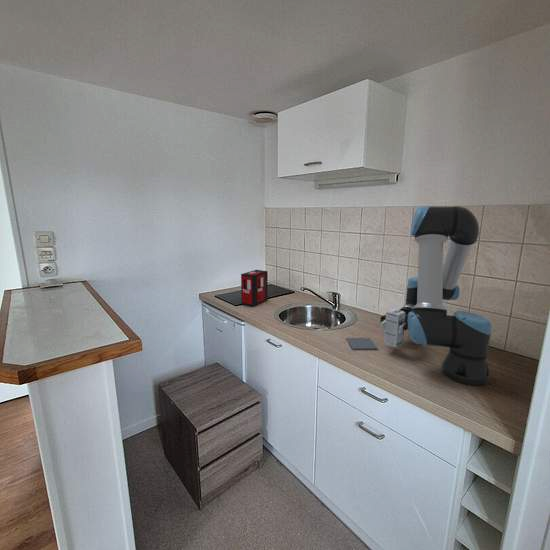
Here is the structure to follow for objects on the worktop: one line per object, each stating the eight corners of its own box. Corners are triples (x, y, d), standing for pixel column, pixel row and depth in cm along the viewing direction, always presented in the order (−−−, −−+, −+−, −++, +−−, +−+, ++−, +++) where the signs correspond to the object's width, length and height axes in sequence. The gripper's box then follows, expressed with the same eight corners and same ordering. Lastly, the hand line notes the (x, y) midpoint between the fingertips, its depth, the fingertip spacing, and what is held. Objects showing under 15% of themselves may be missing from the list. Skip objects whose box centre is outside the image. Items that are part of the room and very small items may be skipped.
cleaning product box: (256, 298, 208) (256, 269, 204) (267, 300, 204) (267, 271, 200) (241, 304, 195) (241, 274, 190) (253, 307, 190) (252, 275, 186)
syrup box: (395, 347, 127) (399, 314, 124) (383, 343, 131) (386, 310, 128) (402, 344, 130) (406, 311, 127) (390, 339, 135) (393, 308, 132)
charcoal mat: (377, 349, 134) (377, 348, 133) (352, 350, 133) (352, 348, 133) (369, 339, 144) (369, 337, 144) (346, 339, 144) (346, 337, 144)
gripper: (429, 326, 137) (415, 343, 120) (385, 317, 149) (367, 330, 132) (431, 310, 136) (417, 324, 118) (387, 302, 148) (368, 314, 130)
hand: (390, 328), depth 125 cm, fingers closed on syrup box, 7 cm apart
